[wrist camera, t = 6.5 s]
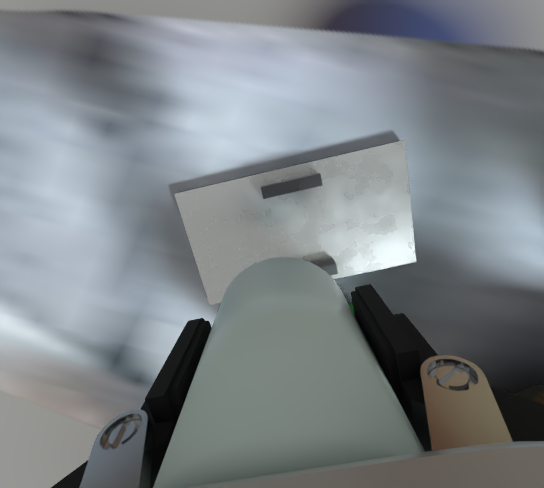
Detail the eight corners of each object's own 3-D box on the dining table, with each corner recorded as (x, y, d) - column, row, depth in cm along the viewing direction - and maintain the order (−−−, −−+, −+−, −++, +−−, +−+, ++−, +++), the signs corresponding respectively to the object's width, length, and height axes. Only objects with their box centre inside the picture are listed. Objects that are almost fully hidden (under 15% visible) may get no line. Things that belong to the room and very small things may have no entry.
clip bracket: (399, 140, 25) (412, 138, 23) (411, 258, 28) (422, 266, 26) (177, 192, 26) (169, 195, 24) (211, 300, 29) (207, 311, 27)
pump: (334, 244, 12) (552, 541, 3) (355, 357, 13) (539, 800, 4) (204, 273, 12) (-9, 621, 3) (238, 380, 14) (167, 831, 4)
